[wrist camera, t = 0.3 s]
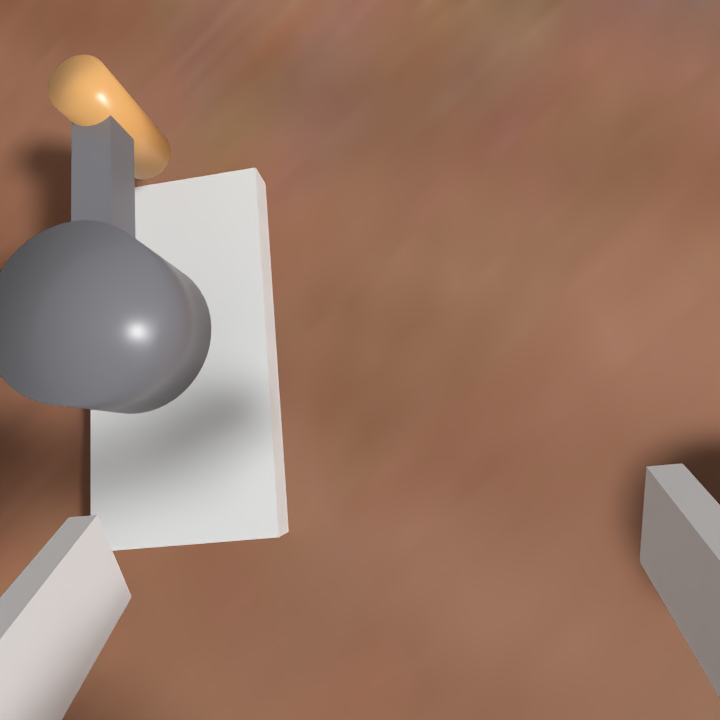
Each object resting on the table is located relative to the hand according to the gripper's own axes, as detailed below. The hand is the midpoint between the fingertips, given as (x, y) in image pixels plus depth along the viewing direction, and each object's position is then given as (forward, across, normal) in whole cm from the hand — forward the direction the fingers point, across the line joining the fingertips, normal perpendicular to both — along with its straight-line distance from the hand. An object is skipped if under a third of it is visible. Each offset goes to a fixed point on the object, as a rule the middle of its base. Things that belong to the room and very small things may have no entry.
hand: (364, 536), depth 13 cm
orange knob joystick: (+18, +12, -4) cm, 22 cm away
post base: (+20, +12, +2) cm, 23 cm away
